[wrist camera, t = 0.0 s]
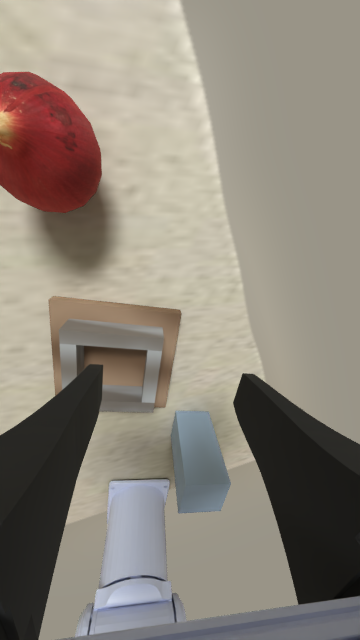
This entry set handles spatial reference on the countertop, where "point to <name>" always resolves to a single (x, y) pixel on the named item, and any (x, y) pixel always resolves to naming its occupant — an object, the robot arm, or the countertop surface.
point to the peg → (198, 463)
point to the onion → (45, 145)
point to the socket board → (115, 349)
